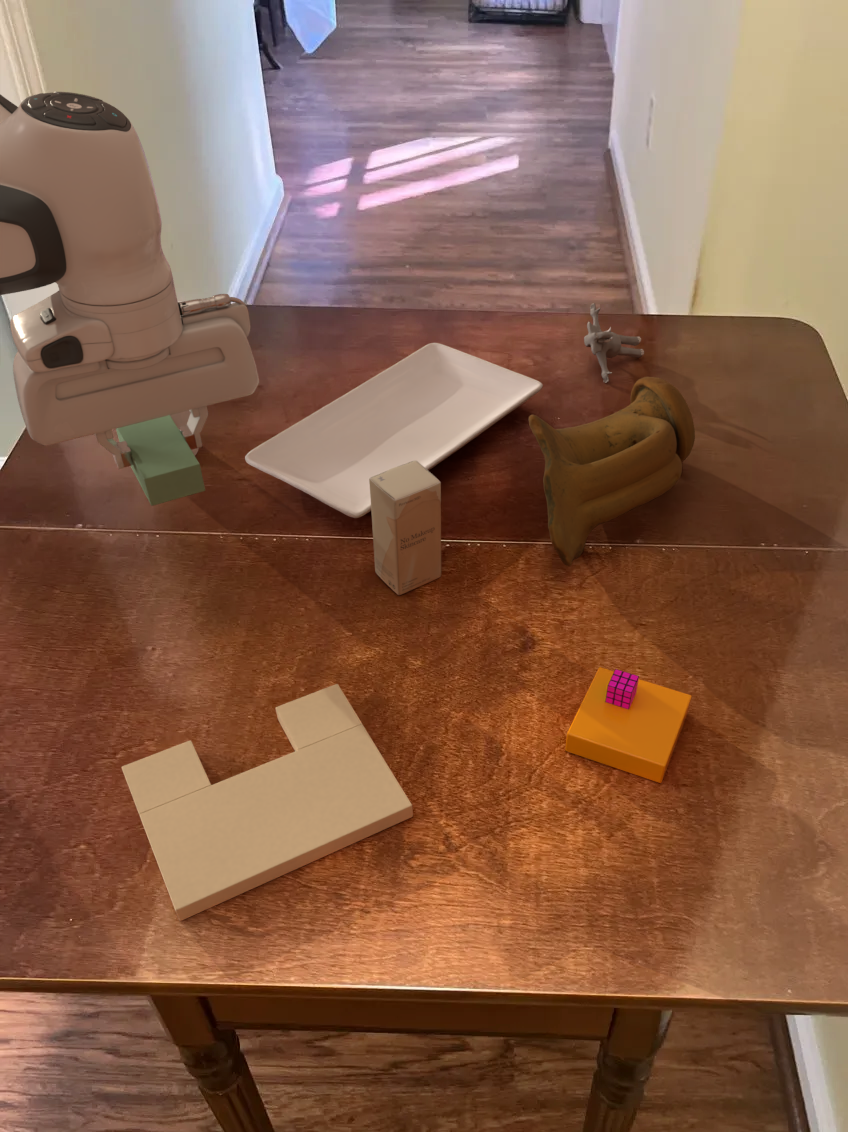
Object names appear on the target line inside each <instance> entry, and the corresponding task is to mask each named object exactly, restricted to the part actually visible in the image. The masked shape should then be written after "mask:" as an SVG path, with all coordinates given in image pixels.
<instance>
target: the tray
mask: <svg viewBox="0 0 848 1132" xmlns="http://www.w3.org/2000/svg"><path fill="white" fill-rule="evenodd" d="M543 386H544V384H543V383H542V382H541V381H539V380H537V379H534V378H533V377H530V376H527V375H525V374H522V373H519V372H517V371H513V370H511V369H508V368H506V367H503V366H501V365H498V364H495V363H493V362H490V361H487V360H486V359H483V358H480V357H478V356H475V355H473V354H470V353H467V352H464V351H462V350H459V349H456V348H454V347H451V346H448V345H445V344H443V343H439V342H431V343H427V344H426V345H424V346H422V347H420V348H419V349H418V350H415V351H414V352H412V353H411V354H410V355H408V356H406V357H404V358H403V359H401V360H400V361H398V362H397V363H395V364H393V365H392V366H389V367H387V369H384V370H382V371H381V372H379V373H378V374H376V375H375V376H373V377H371V378H369V379H368V380H366V381H365V382H363V383H361V384H360V385H358V386H357V387H355V388H353V389H351V390H349V391H348V392H347V393H345V394H343V395H341V396H339V397H338V398H336V399H334V400H333V401H331V402H330V403H328V404H326V405H324V406H322V407H321V408H319V409H317V410H316V411H314V412H313V413H311V414H309V415H307V416H306V417H304V418H302V419H301V420H299V421H298V422H296V423H294V424H293V425H291V426H289V427H287V428H286V429H284V430H282V431H281V432H279V433H278V434H276V435H274V436H273V437H270V438H269V439H268V440H265V441H264V442H262V443H261V444H259V445H258V446H256V447H254V448H253V449H251V450H250V451H248V452H247V453H246V454H245V456H244V460H245V462H246V463H247V464H248V465H249V466H251V467H253V468H255V469H257V470H259V471H261V472H263V473H265V474H268V475H269V476H272V477H274V478H276V479H278V480H280V481H282V482H284V483H285V484H288V485H290V486H292V487H294V488H296V489H298V490H299V491H301V492H303V493H305V494H307V495H309V496H311V497H313V498H314V499H316V500H318V501H319V502H321V503H323V504H325V505H326V506H329V507H330V508H332V509H334V510H336V511H338V512H339V513H341V514H344V515H346V516H347V517H350V518H354V519H358V518H361V517H363V516H365V515H367V514H368V513H370V512H371V498H370V484H369V478H370V477H372V476H375V475H377V474H380V473H382V472H385V471H387V470H389V469H392V468H394V467H398V466H400V465H403V464H405V463H408V462H411V461H414V460H416V461H418V462H419V463H420V464H421V465H422V466H424V467H425V468H426V469H427V470H428V471H429V472H430V470H432V469H433V468H434V467H437V465H438V464H440V463H442V462H443V461H445V460H446V459H448V457H450V456H452V455H453V454H455V453H456V452H457V451H459V450H460V449H461V448H463V447H464V446H466V445H467V444H469V443H470V442H471V441H473V440H474V439H475V438H477V437H479V436H480V435H481V434H482V433H484V432H485V431H487V430H488V429H489V428H491V427H492V426H493V425H495V424H496V423H498V422H499V421H501V420H502V419H503V418H505V417H506V416H507V415H509V414H510V413H511V412H513V411H514V410H516V409H517V408H519V407H520V406H522V405H523V404H525V403H526V402H527V401H528V400H530V399H531V398H532V397H534V396H535V395H536V394H538V393H539V392H540V391H541V390H542V389H543Z"/></svg>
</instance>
